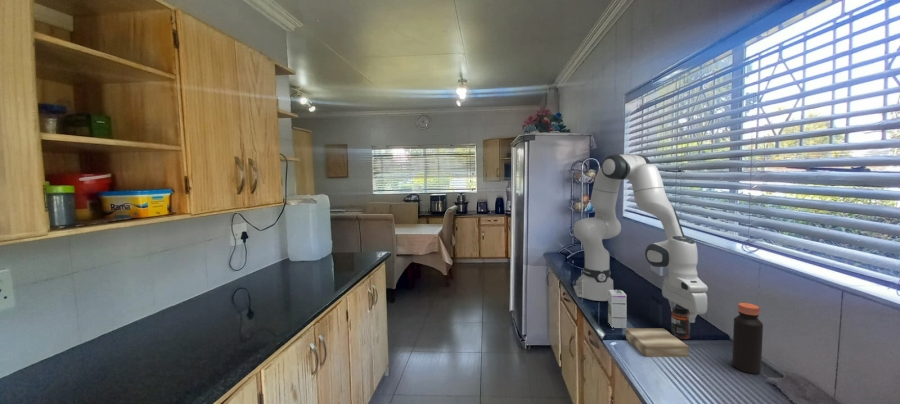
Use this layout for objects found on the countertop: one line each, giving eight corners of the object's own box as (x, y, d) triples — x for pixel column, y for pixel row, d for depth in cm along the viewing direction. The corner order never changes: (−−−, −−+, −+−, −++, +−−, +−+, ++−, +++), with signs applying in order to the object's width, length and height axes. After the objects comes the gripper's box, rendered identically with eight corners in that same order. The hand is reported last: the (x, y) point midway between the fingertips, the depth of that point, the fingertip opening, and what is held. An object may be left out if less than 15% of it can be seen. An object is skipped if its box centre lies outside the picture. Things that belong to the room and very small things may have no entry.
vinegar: (730, 360, 110) (732, 300, 109) (757, 366, 107) (760, 303, 106) (734, 370, 104) (737, 307, 103) (763, 376, 101) (766, 311, 100)
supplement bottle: (687, 333, 130) (687, 304, 129) (692, 340, 124) (693, 310, 123) (669, 331, 132) (669, 303, 131) (673, 338, 126) (674, 308, 125)
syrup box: (627, 330, 133) (627, 294, 132) (610, 329, 134) (611, 293, 133) (622, 324, 138) (623, 289, 138) (607, 323, 140) (607, 289, 139)
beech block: (625, 338, 127) (625, 328, 127) (663, 338, 127) (663, 328, 127) (646, 358, 113) (646, 346, 113) (688, 358, 113) (688, 346, 113)
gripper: (657, 273, 137) (657, 307, 137) (692, 288, 116) (692, 328, 117) (673, 273, 137) (673, 306, 137) (711, 288, 116) (711, 328, 117)
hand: (682, 316), depth 127 cm, fingers open, 8 cm apart
